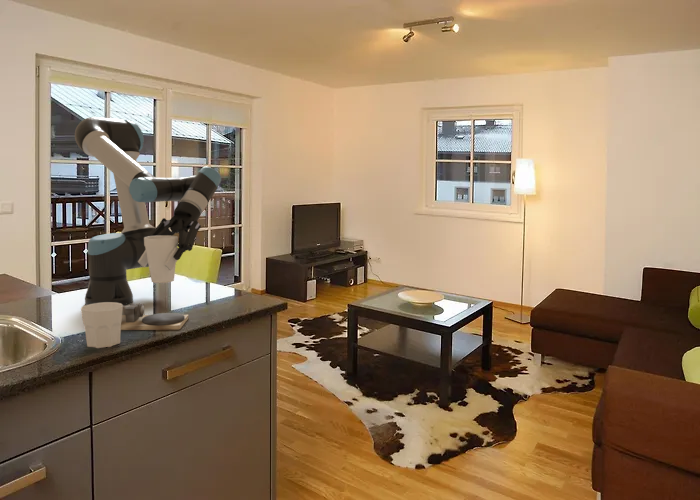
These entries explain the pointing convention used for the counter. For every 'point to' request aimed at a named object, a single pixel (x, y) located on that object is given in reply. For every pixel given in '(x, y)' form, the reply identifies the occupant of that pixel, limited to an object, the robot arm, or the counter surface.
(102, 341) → the cup
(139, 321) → the shaft stand
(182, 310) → the counter surface
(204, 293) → the counter surface
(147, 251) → the foam cup
